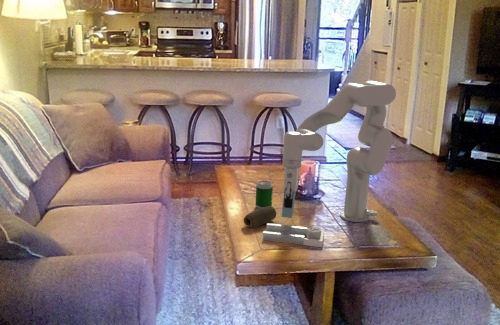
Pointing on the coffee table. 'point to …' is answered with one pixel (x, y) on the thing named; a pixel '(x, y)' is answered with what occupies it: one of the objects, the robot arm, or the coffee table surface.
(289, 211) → the block
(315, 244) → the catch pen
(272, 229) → the slot rails
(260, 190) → the soda can
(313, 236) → the die
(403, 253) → the coffee table surface
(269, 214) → the brown hollow cylinder
